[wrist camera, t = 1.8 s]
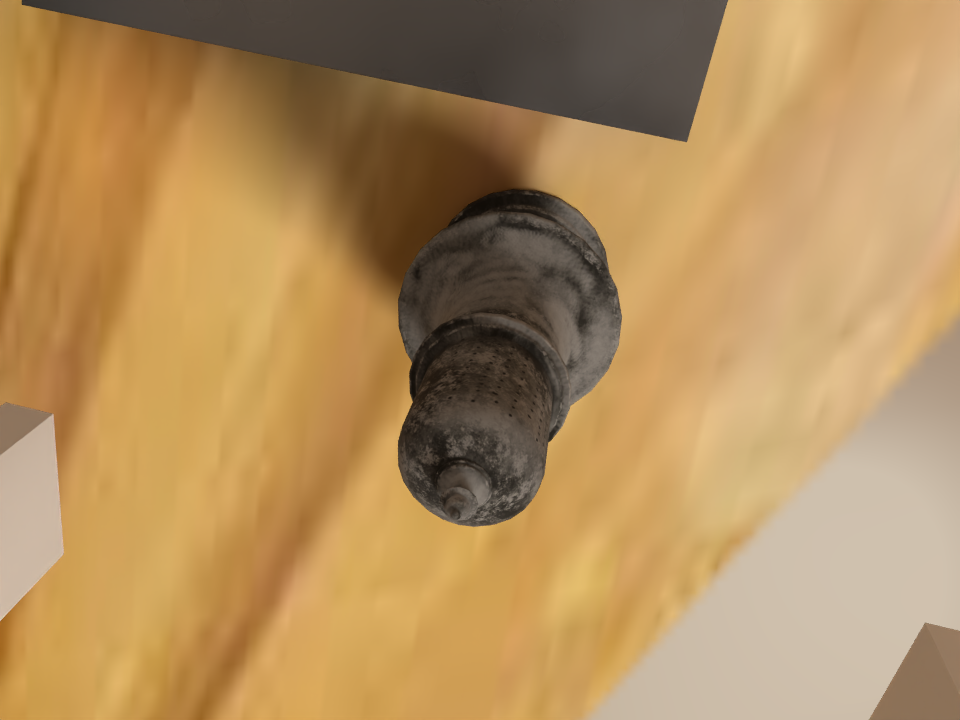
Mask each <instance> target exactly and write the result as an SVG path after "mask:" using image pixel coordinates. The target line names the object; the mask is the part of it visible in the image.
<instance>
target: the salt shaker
mask: <svg viewBox="0 0 960 720" xmlns="http://www.w3.org/2000/svg"><path fill="white" fill-rule="evenodd" d="M398 312H399V329H400V333H401V336H402V339H403V343H404V346H405V350H406V353H407V354H408V356H409V358H410V359H411V361H412V366H411V369H410V373H409V378H410V394H411V397H412V401H413V403H412V405H411V408H410V410H409V412H408V415H407V417H406V419H405V421H404V424H403V426H402V430H401V433H400V437H399V440H398V466H399V469H400V472H401V475H402V478H403V481H404V483H405V485H406V486H407V488H408V489H409V491H410V492H411V494H412V495H413V497H414V498H415V499H416V500H418V501H419V502H420V503H421V504H422V505H423V506H424V507H425V508H426V509H427V510H428V511H430V512H432V513H433V514H435V515H437V516H438V517H440V518H442V519H443V520H446V521H449V522H452V523H455V524H458V525H465V526H473V527H476V526H486V525H494V524H497V523H500V522H503V521H506V520H509V519H511V518H512V517H514V516H515V515H517V514H518V513H520V512H521V511H523V510H524V509H525V508H526V507H527V505H528V504H529V503H530V502H531V501H532V499H533V498H534V497H535V495H536V493H537V491H538V489H539V487H540V484H541V482H542V479H543V477H544V473H545V464H546V456H547V447H548V442H550V441H551V440H552V439H553V437H554V436H555V435H556V434H557V432H558V431H559V430H560V429H561V427H562V426H563V424H564V421H565V419H566V416H567V414H568V411H569V409H570V406H571V405H572V404H574V403H575V402H576V401H578V400H579V399H580V398H582V397H583V396H585V395H586V394H587V393H589V392H590V391H591V390H592V389H593V388H594V387H595V385H596V384H597V383H598V382H599V380H600V379H601V378H602V377H603V376H604V374H605V373H606V372H607V371H608V369H609V367H610V364H611V362H612V359H613V357H614V355H615V352H616V350H617V348H618V345H619V338H620V329H621V321H622V315H621V309H620V303H619V298H618V292H617V288H616V286H615V284H614V282H613V279H612V277H611V275H610V273H609V269H608V263H607V257H606V252H605V249H604V246H603V244H602V242H601V240H600V238H599V236H598V234H597V232H596V230H595V229H594V227H593V226H592V225H591V224H590V223H589V222H588V221H587V219H586V218H585V217H584V216H583V215H582V214H581V213H580V212H579V211H578V210H576V209H575V208H573V207H572V206H570V205H569V204H567V203H566V202H564V201H563V200H561V199H560V198H557V197H554V196H551V195H548V194H545V193H542V192H539V191H531V190H515V189H512V190H507V191H502V192H497V193H492V194H489V195H487V196H485V197H483V198H481V199H479V200H477V201H475V202H473V203H471V204H469V205H468V206H467V207H465V208H464V209H463V210H462V211H461V212H460V213H459V214H458V215H457V216H456V217H454V218H453V219H452V221H451V222H450V224H449V225H448V227H447V228H445V229H443V230H441V231H440V232H439V233H438V234H437V235H436V236H435V237H434V238H432V239H431V240H430V241H429V242H428V243H427V244H426V245H425V246H424V247H422V248H421V249H420V251H419V253H418V254H417V256H416V257H415V259H414V261H413V262H412V264H411V266H410V267H409V269H408V270H407V272H406V274H405V277H404V281H403V285H402V288H401V292H400V296H399V299H398Z"/></svg>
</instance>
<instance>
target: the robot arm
mask: <svg viewBox="0 0 960 720" xmlns="http://www.w3.org/2000/svg"><path fill="white" fill-rule="evenodd" d="M63 554H64V550H63V537H62V524H61V510H60V497H59V484H58V471H57V457H56V444H55V431H54V417H53V414H52V413H47V412H43V411H39V410H35V409H31V408H27V407H22V406H18V405H14V404H10V403H4V404H3V405H1V406H0V621H1V620H2V618H3V617H4V616H5V615H6V614H7V613H8V612H9V611H10V610H11V609H12V608H13V607H14V606H15V605H16V604H17V603H18V602H19V601H20V600H21V598H22V597H23V596H24V595H25V594H26V593H27V592H28V591H29V590H30V589H31V588H32V587H33V586H34V585H35V584H36V583H37V582H38V581H39V580H40V578H41V577H42V576H43V575H44V574H45V573H46V572H47V571H48V570H49V569H50V568H51V567H52V566H53V565H54V564H55V563H56V562H57V561H58V560H59V558H60V557H61V556H62V555H63ZM869 720H960V631H958V630H954V629H949V628H945V627H941V626H937V625H933V624H929V623H925V624H924V626H923V628H922V629H921V631H920V632H919V634H918V636H917V638H916V639H915V641H914V643H913V645H912V646H911V648H910V650H909V652H908V653H907V655H906V657H905V659H904V660H903V662H902V664H901V665H900V667H899V669H898V671H897V672H896V674H895V676H894V677H893V679H892V681H891V683H890V685H889V686H888V688H887V690H886V691H885V693H884V695H883V697H882V698H881V700H880V702H879V704H878V705H877V707H876V709H875V710H874V712H873V714H872V716H871V717H870V719H869Z"/></svg>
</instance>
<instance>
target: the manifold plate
mask: <svg viewBox="0 0 960 720" xmlns="http://www.w3.org/2000/svg"><path fill="white" fill-rule="evenodd" d="M727 2H728V0H22V5H26V6H31V7H36V8H41V9H46V10H50V11H55V12H60V13H65V14H70V15H75V16H79V17H84V18H89V19H94V20H99V21H104V22H108V23H113V24H118V25H123V26H128V27H133V28H137V29H142V30H147V31H152V32H157V33H162V34H166V35H171V36H176V37H181V38H186V39H191V40H195V41H200V42H205V43H210V44H215V45H220V46H224V47H229V48H234V49H239V50H244V51H249V52H253V53H258V54H263V55H268V56H273V57H278V58H282V59H287V60H292V61H297V62H302V63H307V64H311V65H316V66H321V67H326V68H331V69H336V70H340V71H345V72H350V73H355V74H360V75H365V76H369V77H374V78H379V79H384V80H389V81H394V82H398V83H403V84H408V85H413V86H418V87H423V88H427V89H432V90H437V91H442V92H447V93H452V94H456V95H461V96H466V97H471V98H476V99H481V100H485V101H490V102H495V103H500V104H505V105H510V106H514V107H519V108H524V109H529V110H534V111H539V112H543V113H548V114H553V115H558V116H563V117H568V118H572V119H577V120H582V121H587V122H592V123H597V124H601V125H606V126H611V127H616V128H621V129H626V130H630V131H635V132H640V133H645V134H650V135H655V136H659V137H664V138H669V139H674V140H679V141H684V142H687V140H688V136H689V133H690V129H691V126H692V122H693V119H694V115H695V112H696V109H697V105H698V102H699V98H700V95H701V91H702V88H703V84H704V81H705V77H706V74H707V71H708V67H709V64H710V60H711V57H712V53H713V50H714V46H715V43H716V39H717V36H718V33H719V29H720V26H721V22H722V19H723V15H724V12H725V8H726V5H727Z"/></svg>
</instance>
